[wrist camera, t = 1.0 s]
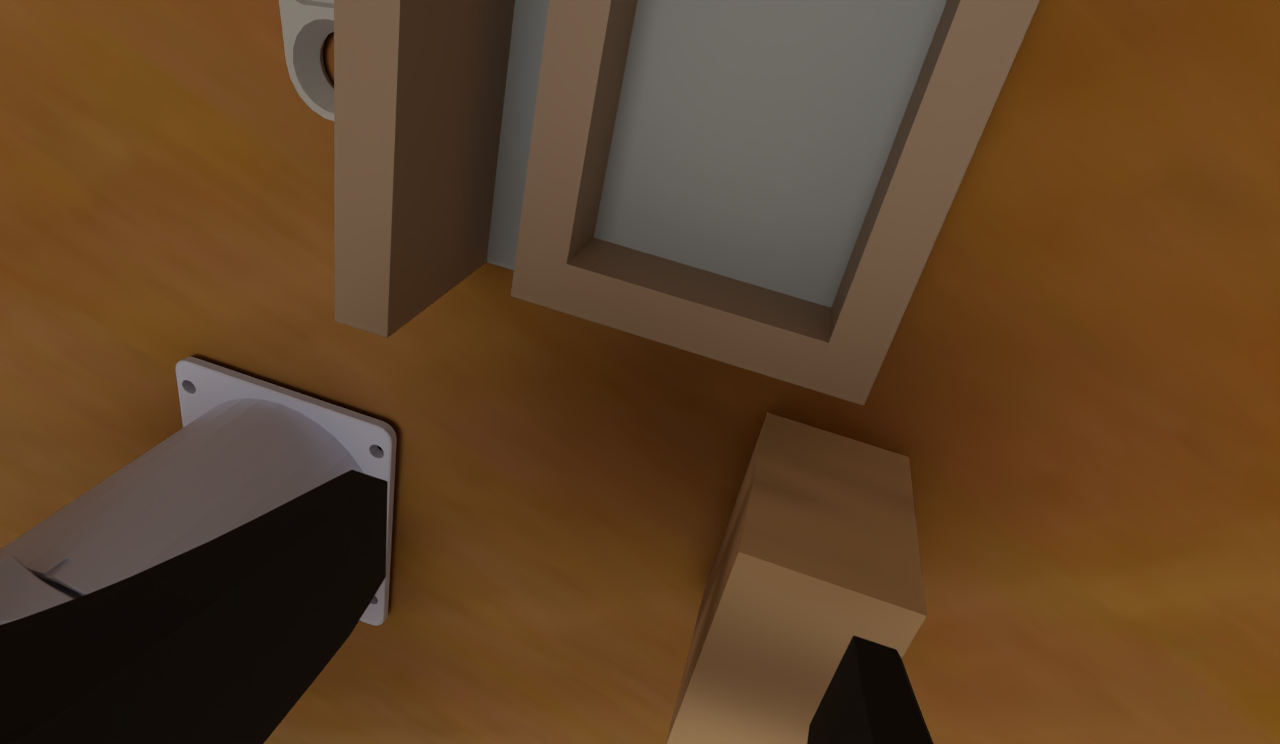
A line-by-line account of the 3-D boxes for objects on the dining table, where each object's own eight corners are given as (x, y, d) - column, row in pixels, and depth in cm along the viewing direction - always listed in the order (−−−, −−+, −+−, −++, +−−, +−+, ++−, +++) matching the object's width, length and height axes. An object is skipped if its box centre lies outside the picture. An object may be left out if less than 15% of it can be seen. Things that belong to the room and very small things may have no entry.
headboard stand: (870, 358, 19) (875, 495, 14) (444, 230, 21) (308, 312, 16) (1112, -216, 13) (1276, -341, 8) (489, -342, 15) (290, -517, 9)
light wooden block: (824, 626, 24) (816, 804, 19) (705, 585, 24) (665, 746, 19) (908, 455, 20) (926, 616, 15) (767, 410, 21) (738, 551, 16)
